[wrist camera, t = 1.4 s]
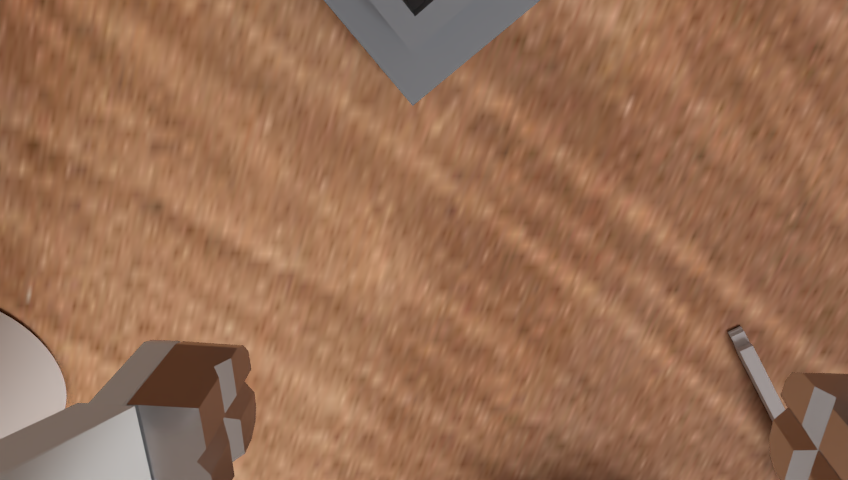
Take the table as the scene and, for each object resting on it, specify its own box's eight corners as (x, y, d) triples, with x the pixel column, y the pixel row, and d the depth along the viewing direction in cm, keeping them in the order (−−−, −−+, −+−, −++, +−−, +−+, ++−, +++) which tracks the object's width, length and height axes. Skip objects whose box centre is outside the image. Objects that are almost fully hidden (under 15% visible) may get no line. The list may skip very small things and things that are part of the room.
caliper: (813, 486, 53) (861, 551, 47) (800, 491, 53) (847, 557, 48) (738, 323, 45) (786, 377, 39) (724, 329, 45) (769, 385, 40)
